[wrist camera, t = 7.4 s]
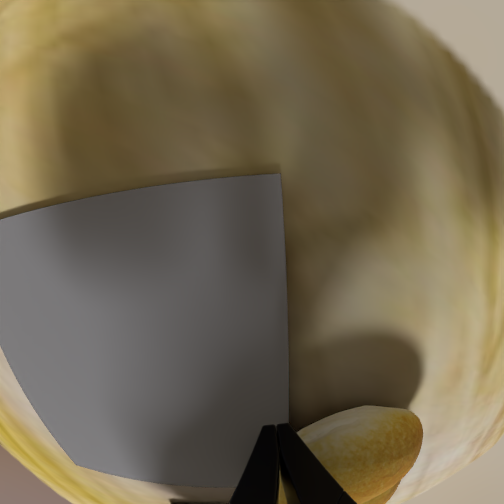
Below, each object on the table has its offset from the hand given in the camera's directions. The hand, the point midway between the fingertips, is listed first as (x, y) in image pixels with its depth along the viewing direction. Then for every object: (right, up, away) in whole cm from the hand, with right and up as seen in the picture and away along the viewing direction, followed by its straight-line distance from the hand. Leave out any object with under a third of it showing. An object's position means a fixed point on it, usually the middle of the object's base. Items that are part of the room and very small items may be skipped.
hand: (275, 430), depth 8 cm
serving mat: (-6, 0, +2) cm, 7 cm away
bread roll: (+1, -2, +3) cm, 4 cm away
